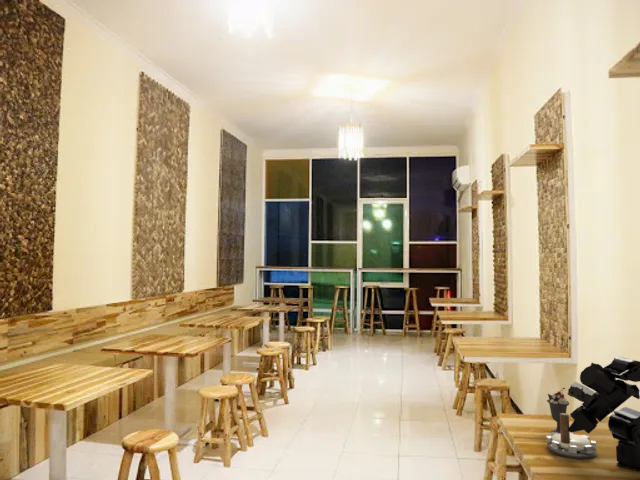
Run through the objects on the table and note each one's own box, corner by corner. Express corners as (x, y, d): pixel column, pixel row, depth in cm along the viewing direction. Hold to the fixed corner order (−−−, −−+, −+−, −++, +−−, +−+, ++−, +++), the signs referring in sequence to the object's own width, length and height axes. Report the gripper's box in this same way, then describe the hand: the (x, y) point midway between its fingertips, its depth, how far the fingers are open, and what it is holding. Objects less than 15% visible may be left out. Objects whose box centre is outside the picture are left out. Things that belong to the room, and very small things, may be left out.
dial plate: (602, 450, 144) (601, 438, 144) (587, 463, 135) (587, 451, 135) (556, 439, 153) (556, 428, 153) (540, 450, 144) (539, 439, 144)
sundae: (574, 436, 155) (572, 389, 156) (553, 436, 156) (551, 389, 156) (564, 429, 162) (562, 384, 163) (544, 429, 162) (542, 384, 163)
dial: (595, 444, 143) (594, 412, 144) (581, 453, 137) (580, 419, 138) (561, 435, 151) (560, 405, 152) (546, 443, 145) (545, 411, 145)
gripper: (594, 368, 145) (557, 400, 152) (575, 381, 131) (536, 415, 138) (626, 399, 139) (587, 431, 146) (611, 415, 126) (568, 449, 132)
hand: (569, 430), depth 141 cm, fingers closed, pressing on dial
